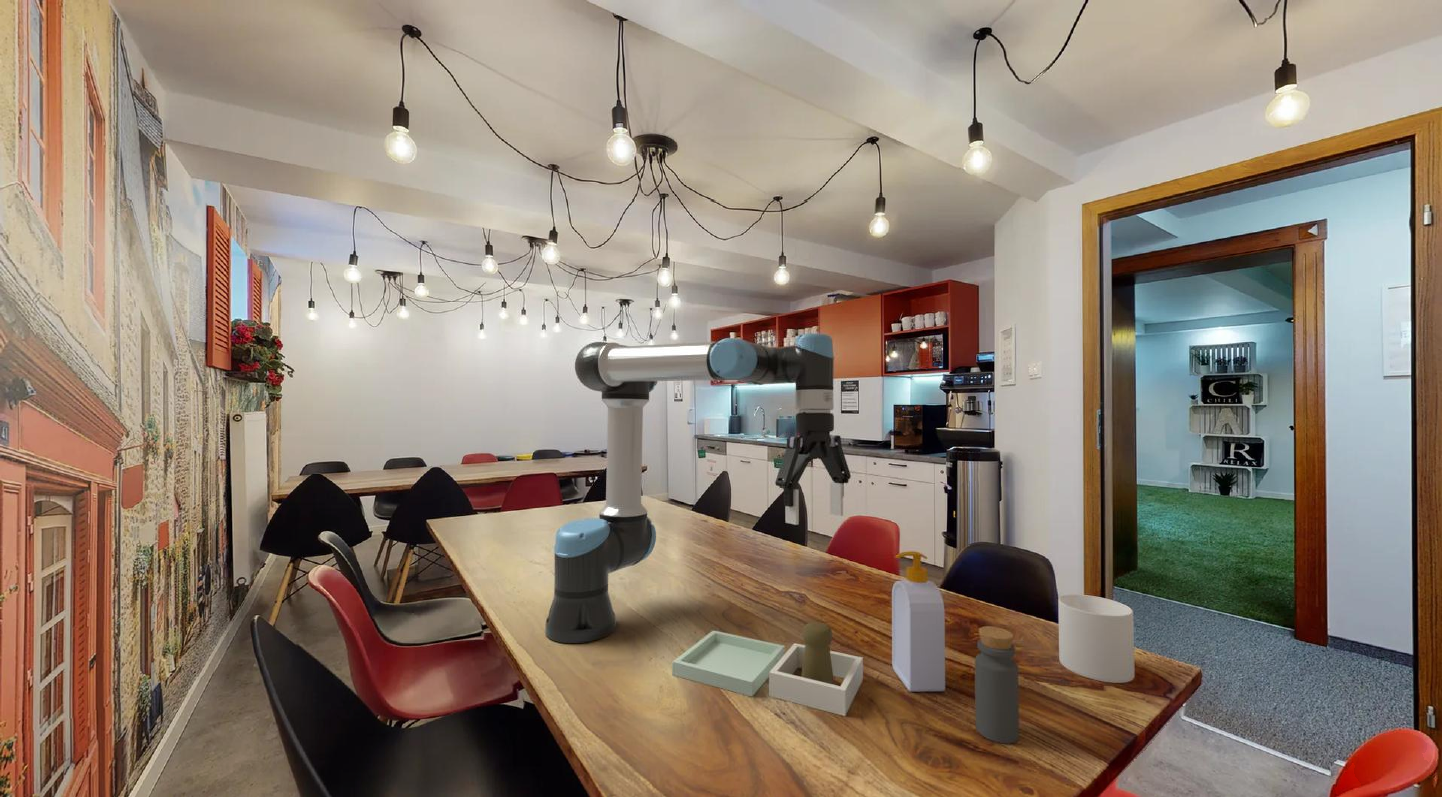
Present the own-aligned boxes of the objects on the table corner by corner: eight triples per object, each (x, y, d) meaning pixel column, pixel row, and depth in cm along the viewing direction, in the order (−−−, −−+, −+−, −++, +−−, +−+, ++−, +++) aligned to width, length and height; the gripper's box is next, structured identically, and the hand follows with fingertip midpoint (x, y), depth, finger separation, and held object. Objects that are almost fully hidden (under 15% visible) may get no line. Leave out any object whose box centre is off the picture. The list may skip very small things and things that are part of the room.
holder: (769, 695, 90) (769, 672, 90) (794, 664, 102) (794, 642, 102) (845, 716, 84) (845, 690, 84) (862, 679, 96) (862, 657, 96)
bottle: (967, 721, 83) (967, 624, 83) (1003, 720, 83) (1002, 623, 84) (989, 744, 77) (988, 640, 77) (1027, 743, 77) (1026, 639, 78)
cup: (1067, 648, 109) (1066, 590, 110) (1139, 668, 101) (1137, 604, 101) (1052, 667, 101) (1051, 604, 101) (1128, 690, 93) (1127, 621, 93)
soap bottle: (887, 668, 100) (887, 546, 101) (924, 667, 100) (923, 546, 101) (905, 693, 91) (905, 559, 92) (945, 692, 91) (944, 559, 92)
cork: (835, 698, 89) (835, 632, 90) (799, 694, 91) (799, 629, 91) (834, 681, 95) (834, 619, 96) (800, 677, 96) (800, 616, 97)
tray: (672, 674, 97) (672, 661, 97) (713, 641, 111) (713, 630, 111) (752, 696, 90) (752, 682, 90) (784, 658, 104) (784, 645, 104)
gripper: (785, 411, 95) (786, 530, 94) (867, 412, 111) (868, 514, 110) (756, 411, 100) (756, 524, 100) (838, 412, 116) (838, 509, 116)
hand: (815, 519), depth 105 cm, fingers open, 13 cm apart
